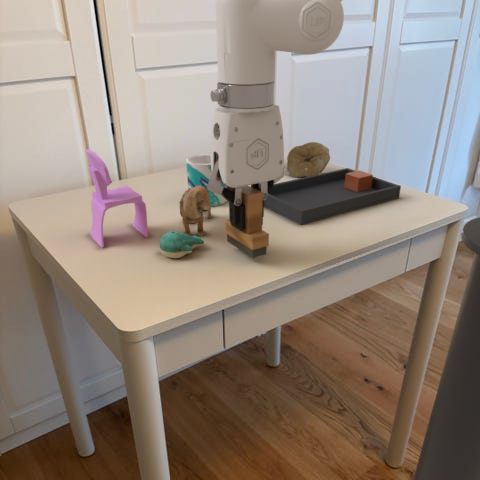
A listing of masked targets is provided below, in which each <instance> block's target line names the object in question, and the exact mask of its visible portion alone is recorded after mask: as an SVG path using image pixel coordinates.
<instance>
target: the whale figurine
mask: <svg viewBox="0 0 480 480" xmlns="http://www.w3.org/2000/svg"><path fill="white" fill-rule="evenodd" d="M183 233H184V232H179V231H175V230H174V231H173V230H170V231H167V232H166V233H164V234H163V235H162V236H161V237H160V240H159V251H160V253H161V254H162V255H163V256H165V257H167V258H169V259H179V258H182V257H184V256H186V255H188V254H191V253H192V252H193V249H195V248H196V247H202V246H204V245H205V240H204V239H203V238H201V237H199V236H197V235H196V234H194V235H191V234H190V235H187V234H183Z"/></svg>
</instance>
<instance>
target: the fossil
mask: <svg viewBox="0 0 480 480" xmlns="http://www.w3.org/2000/svg"><path fill="white" fill-rule="evenodd" d="M286 157H287V159H286V160H287V163H286V170H287V173H288V174H289V175H290V176H292V177H293V178H303V177H309V176H313V175H318V174H322V172H323V171H324V170H325V169H326V167H327V165H328V164H329V162H330V160H331V155H330V149H329V148H328V146H325V145H324V144H323V143H320V142H316V141H310V142H307V143H304V144H302V145H301V144H300V145H296V146H294V147H293V148H291V149H290V150H289V152H288V154H287V156H286Z"/></svg>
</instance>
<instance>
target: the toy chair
mask: <svg viewBox="0 0 480 480" xmlns="http://www.w3.org/2000/svg"><path fill="white" fill-rule="evenodd" d="M85 153H86V156H87V160H88V163H89V165H90V166H88V170H89V173H90V176H91V179H92V182H93V185H94V189H95V191H92V192H91V194H92V198H91V200H90V207H91V217H92V220H91V229H90V234H89V236H90V237H91V238H92V239H93V240H94V241H95V242H96V244H98V246H100V248H102V249H103V248H105V244H104V219H105V215H106V212H107V211H108V210H109V209H111V208H116V207H119V206H121V205H127V204H133V206H134V219H133V223H132V227H133V228H134V229H136V230H137V231H138V232H139V233H140V234H141V235H143V236H144V237H145V238H148V237H149V229H148V215H147V214H148V212H147V205H146V203H145V201H143V196H142V194H140V193H139V192H137V191H135V190H134V189H133V188H132V187H130V186H129V185H125V186H119V187H116V188H111V189H108V187H109V186H110V185H111V184H112V183H113V181H112V179H111V176H110V173H109V170H108V167H107V165H106V163H105V162H104V160H103V159H102V158H101V157H100V156H99V155H98V154H96V152H94V151H93V150H92V149H90V148H88V149H86V150H85Z"/></svg>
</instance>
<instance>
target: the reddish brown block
mask: <svg viewBox="0 0 480 480" xmlns="http://www.w3.org/2000/svg"><path fill="white" fill-rule="evenodd" d="M373 177H374V175H373V174H371V173H369V172H366V171H363V170H355V172H350V173H346V176H345V186H344V187H345V188H347V189H350V190H353V191H355V192H360V191H364V190H368V189H371V186H372V178H373Z"/></svg>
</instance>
